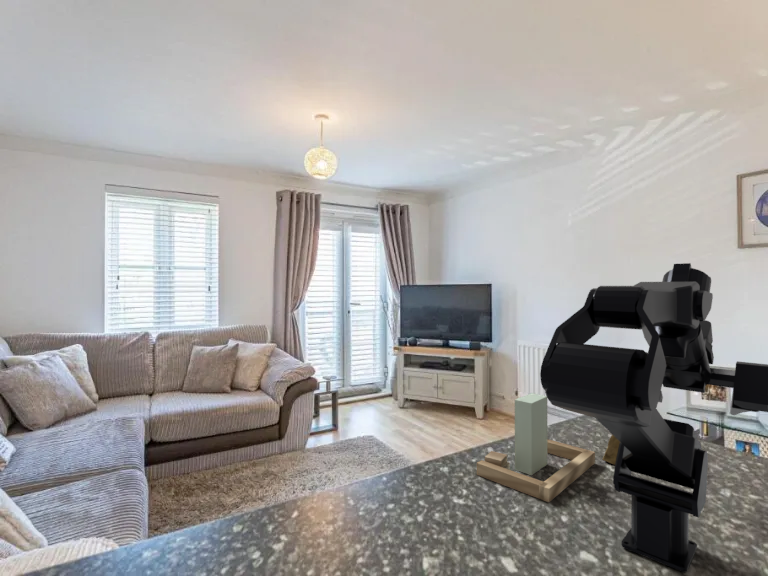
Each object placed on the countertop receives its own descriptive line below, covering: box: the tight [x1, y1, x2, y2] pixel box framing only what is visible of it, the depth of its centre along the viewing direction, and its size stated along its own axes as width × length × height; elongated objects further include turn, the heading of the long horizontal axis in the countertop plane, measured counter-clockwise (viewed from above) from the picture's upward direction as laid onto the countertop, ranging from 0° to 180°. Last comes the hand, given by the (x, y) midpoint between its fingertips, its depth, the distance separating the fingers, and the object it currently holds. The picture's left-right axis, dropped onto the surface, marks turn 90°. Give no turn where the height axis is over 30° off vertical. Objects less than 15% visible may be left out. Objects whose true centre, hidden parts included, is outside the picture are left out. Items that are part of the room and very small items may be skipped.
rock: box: [602, 434, 620, 466], centre depth 76 cm, size 11×9×10 cm
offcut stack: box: [484, 450, 511, 470], centre depth 71 cm, size 4×3×2 cm
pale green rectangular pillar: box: [514, 392, 548, 476], centre depth 72 cm, size 6×3×12 cm, turn 134°
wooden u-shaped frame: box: [476, 438, 596, 503], centre depth 71 cm, size 18×12×2 cm, turn 134°
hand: (695, 405), depth 65 cm, fingers open, 9 cm apart
